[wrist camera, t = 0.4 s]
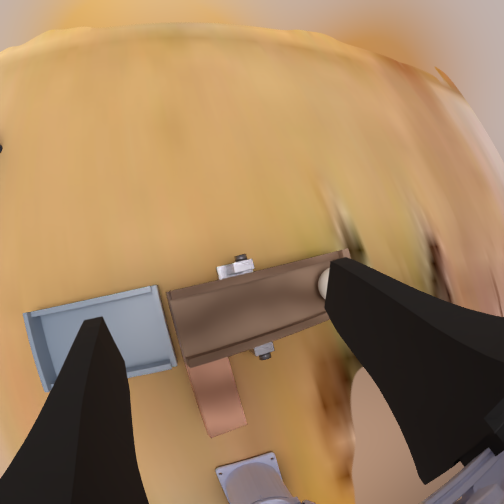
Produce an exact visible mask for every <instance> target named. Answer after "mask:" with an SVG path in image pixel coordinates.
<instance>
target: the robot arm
mask: <svg viewBox="0 0 504 504" xmlns="http://www.w3.org/2000/svg"><path fill="white" fill-rule="evenodd" d="M324 308H325V310H326V312H327V314H328V316H329V318H330V320H331V322H332V323H333V325H334V327H335V328H336V330H337V332H338V333H339V335H340V336H341V337H342V339H343V340H344V341H345V343H346V344H347V345H348V347H349V348H350V349H351V351H352V352H353V353H354V355H355V356H356V357H357V359H358V360H359V361H360V363H361V364H362V365H363V367H364V368H365V369H366V371H367V372H368V373H369V375H370V376H371V377H372V379H373V380H374V382H375V383H376V385H377V386H378V388H379V389H380V391H381V393H382V394H383V396H384V398H385V400H386V401H387V403H388V405H389V407H390V409H391V411H392V413H393V415H394V417H395V418H396V420H397V422H398V424H399V426H400V429H401V431H402V433H403V435H404V438H405V440H406V442H407V444H408V447H409V449H410V452H411V455H412V457H413V460H414V463H415V466H416V469H417V472H418V475H419V477H420V479H421V480H422V482H423V483H424V484H425V485H426V484H428V483H429V482H431V481H432V480H434V479H435V478H437V477H438V476H440V475H441V474H443V473H445V472H446V471H447V470H449V469H450V468H452V467H453V466H455V465H456V464H457V463H458V462H459V461H461V463H462V464H463V465H464V468H463V469H462V470H461V471H460V472H458V473H457V474H456V475H455V476H454V477H453V478H452V479H450V480H449V481H448V482H447V483H445V484H444V485H443V486H442V487H441V488H439V489H438V490H437V491H435V492H434V493H433V494H432V495H430V496H429V497H428V498H426V499H425V500H424V501H422V502H421V503H419V504H504V317H499V316H494V315H489V314H486V313H482V312H478V311H474V310H470V309H467V308H464V307H461V306H458V305H455V304H452V303H449V302H446V301H444V300H441V299H438V298H436V297H433V296H431V295H429V294H426V293H424V292H422V291H419V290H417V289H415V288H413V287H410V286H408V285H406V284H404V283H402V282H400V281H397V280H395V279H393V278H391V277H389V276H387V275H385V274H383V273H381V272H379V271H377V270H374V269H372V268H370V267H368V266H366V265H364V264H362V263H359V262H357V261H355V260H352V259H350V258H347V257H344V258H340V259H337V260H333V261H330V269H329V277H328V284H327V292H326V299H325V306H324ZM272 457H273V459H271V458H272ZM215 471H216V474H217V476H218V479H219V481H220V483H221V486H222V488H223V490H224V493H225V495H226V497H227V499H228V502H229V504H316V503H314V502H311V501H309V500H304V501H302V503H301V502H300V501H299V499H298V498H297V497H293V496H292V495H291V493H290V492H289V490H288V489H287V487H286V486H285V484H284V483H283V480H282V477H281V474H280V470H279V467H278V464H277V460H276V457H275V454H274V453H273V452H269V453H266V454H263V455H260V456H257V457H254V458H250V459H247V460H243V461H240V462H236V463H233V464H229V465H225V466H221V467H218V468H216V469H215ZM219 473H222V474H219ZM461 496H462V499H460V500H458V498H460V497H461ZM457 500H458V501H457ZM455 501H456V502H455ZM454 502H455V503H454ZM0 504H149V503H148V500H147V497H146V493H145V490H144V487H143V483H142V480H141V476H140V472H139V469H138V464H137V459H136V453H135V446H134V437H133V427H132V415H131V403H130V390H129V384H128V378H127V372H126V366H125V361H124V359H123V357H122V355H121V353H120V351H119V349H118V347H117V345H116V343H115V341H114V339H113V337H112V335H111V333H110V331H109V329H108V327H107V325H106V323H105V321H104V318H103V316H101V317H97V318H92V319H87V320H84V321H83V323H82V325H81V327H80V329H79V331H78V333H77V335H76V337H75V340H74V342H73V344H72V346H71V348H70V350H69V353H68V355H67V357H66V359H65V361H64V364H63V366H62V368H61V370H60V372H59V374H58V377H57V379H56V381H55V383H54V385H53V387H52V389H51V391H50V393H49V396H48V398H47V400H46V402H45V404H44V406H43V408H42V410H41V412H40V414H39V416H38V418H37V420H36V422H35V423H34V425H33V427H32V429H31V431H30V432H29V434H28V436H27V438H26V440H25V441H24V443H23V444H22V446H21V448H20V449H19V451H18V452H17V454H16V456H15V457H14V459H13V460H12V462H11V464H10V465H9V467H8V468H7V470H6V471H5V473H4V474H3V476H2V477H1V479H0Z"/></svg>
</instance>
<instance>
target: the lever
mask: <svg viewBox="0 0 504 504" xmlns="http://www.w3.org/2000/svg"><path fill="white" fill-rule="evenodd" d="M344 257H347V258H350V254H349V250H348V248H347V249H343V250H340V251H336V252H332V253H328V254H324V255H320V256H316V257H312V258H308V259H304V260H300V261H296V262H292V263H288V264H283V265H279V266H275V267H271V268H267V269H263V270H259V271H254V272H250V273H246V274H242V275H238V276H233V277H229V278H225V279H221V280H216V281H212V282H208V283H203V284H199V285H195V286H190V287H186V288H182V289H177V290H173V291H169V292H166V294H167V299H168V303H169V307H170V311H171V315H172V319H173V323H174V326H175V330H176V334H177V338H178V341H179V345H180V348H181V352H182V355H183V359H184V362H185V366H186V369H187V372H188V376H189V379H190V382H191V386H192V389H193V392H194V395H195V398H196V401H197V404H198V407H199V410H200V413H201V416H202V419H203V422H204V425H205V428H206V430H207V433H208V435H209V436H210V437H211V438H212V437H215V436H218V435H221V434H224V433H226V432H229V431H232V430H234V429H237V428H239V427H242V426H244V425H247V421H246V418H245V415H244V411H243V408H242V404H241V401H240V398H239V394H238V391H237V387H236V384H235V380H234V376H233V373H232V369H231V366H230V362H229V358H228V356H231V355H234V354H237V353H240V352H243V351H246V350H249V349H252V348H255V347H258V346H261V345H264V344H266V343H269V342H272V341H275V340H278V339H280V338H283V337H286V336H288V335H291V334H294V333H296V332H299V331H302V330H304V329H307V328H309V327H312V326H314V325H317V324H319V323H322V322H324V321H327V320H329V319H330V318H329V316H328V314H327V312H326V310H325V308H324V306H325V299H324V298H323V297H322V296H321V294H320V292H319V289H318V281H319V278H320V276H321V274H322V273H323V272H324V271H325V270H326V269H328V268H330V261H333V260H337V259H340V258H344ZM350 259H351V258H350Z"/></svg>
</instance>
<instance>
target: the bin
mask: <svg viewBox="0 0 504 504" xmlns="http://www.w3.org/2000/svg"><path fill="white" fill-rule="evenodd" d="M101 316H103V318H104V321H105V323H106V325H107V327H108V329H109V331H110V333H111V335H112V337H113V339H114V341H115V343H116V345H117V347H118V349H119V351H120V353H121V355H122V357H123V359H124V361H125V366H126V372H127V378H130V377H135V376H140V375H145V374H150V373H155V372H160V371H165V370H169V369H172V367H175V366H177V363H178V361H177V358H176V354H175V351H174V347H173V344H172V340H171V336H170V333H169V329H168V325H167V321H166V317H165V313H164V309H163V305H162V301H161V297H160V293H159V289H158V285H154V286H148V287H143V288H139V289H134V290H130V291H125V292H121V293H116V294H112V295H107V296H103V297H98V298H94V299H89V300H84V301H80V302H75V303H71V304H66V305H61V306H57V307H52V308H47V309H43V310H38V311H33V312H27V313H23V317H24V322H25V326H26V331H27V335H28V339H29V343H30V346H31V350H32V354H33V357H34V361H35V364H36V367H37V370H38V373H39V377H40V380H41V383H42V386H43V388H44V391H45V392H49V391H51V389H52V387H53V385H54V383H55V381H56V379H57V377H58V374H59V372H60V370H61V368H62V366H63V364H64V361H65V359H66V357H67V355H68V353H69V350H70V348H71V346H72V344H73V342H74V340H75V337H76V335H77V333H78V331H79V329H80V327H81V325H82V323H83V321H84V320H87V319H92V318H97V317H101Z"/></svg>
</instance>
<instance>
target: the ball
mask: <svg viewBox="0 0 504 504" xmlns="http://www.w3.org/2000/svg"><path fill="white" fill-rule="evenodd" d="M329 269H330V268H328V269H326V270H325V271H324V272H323V273H322V274H321V276H320V278H319V281H318V289H319V292H320V294H321V296H322V297H323V298H324V299H326V292H327V284H328V277H329Z"/></svg>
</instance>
